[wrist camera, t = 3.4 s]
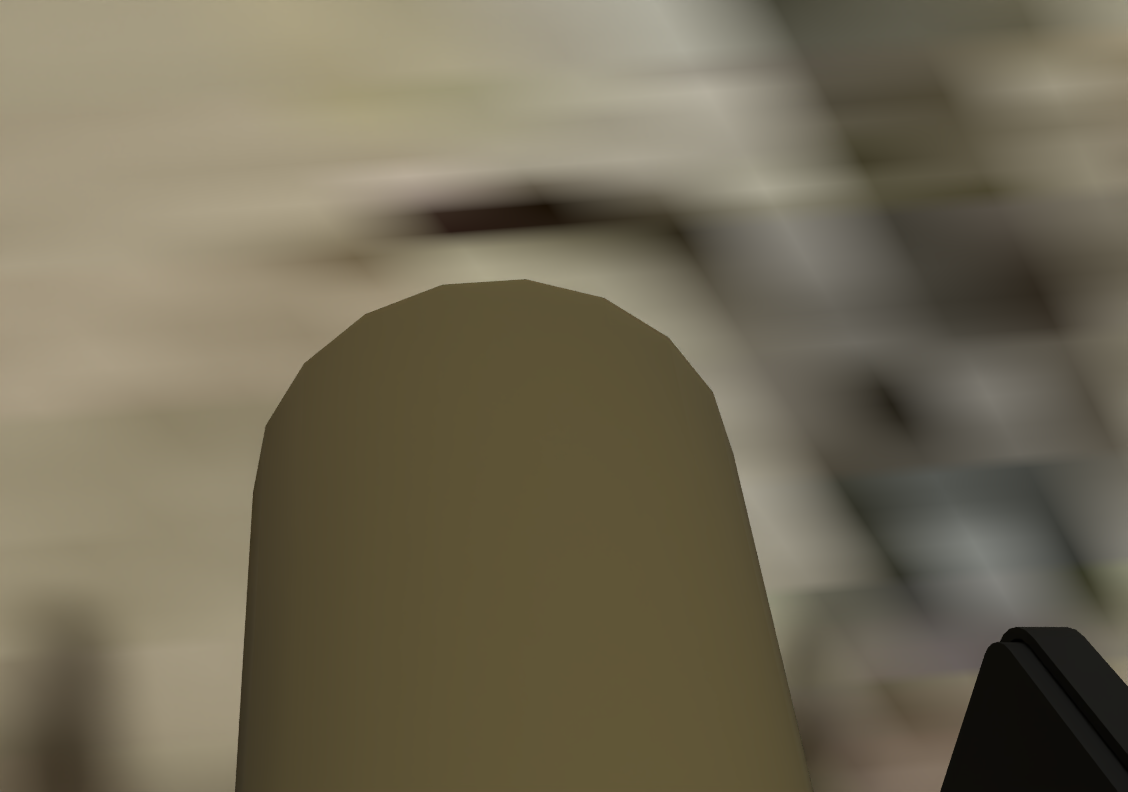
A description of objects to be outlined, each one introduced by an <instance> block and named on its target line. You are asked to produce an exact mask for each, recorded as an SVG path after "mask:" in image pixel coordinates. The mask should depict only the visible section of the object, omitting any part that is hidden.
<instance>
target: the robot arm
mask: <svg viewBox="0 0 1128 792" xmlns="http://www.w3.org/2000/svg"><path fill="white" fill-rule="evenodd" d="M940 792H1128V686H1127V685H1126V684H1125V683H1124V682H1123V680H1122V679H1121V678H1120V677H1119V676H1118V675H1117V674H1116V673H1115V671H1114V670H1113V669H1112V668H1111V667H1110V666H1109V665H1108V663H1107V662H1106V661H1105V660H1104V659H1103V658H1102V657H1101V655H1100V654H1099V653H1098V652H1097V651H1096V650H1095V649H1094V647H1093V646H1092V645H1091V644H1090V643H1089V642H1088V641H1087V639H1086V638H1085V637H1084V636H1083V635H1081V634H1080V633H1079V632H1078V631H1077V630H1075V629H1071V628H1068V627H1015V628H1011V629H1009V630H1008V631H1007V632H1006V633H1005V634H1004V635H1003V637H1002V639H1001V641H1000V642H996V643H992V644H991V645H990V646H989V647H988V649H987V651H986V653H985V655H984V658H983V662H982V665H981V668H980V671H979V674H978V677H977V680H976V683H975V686H974V689H973V692H972V695H971V698H970V702H969V705H968V708H967V711H966V714H965V717H964V720H963V723H962V726H961V729H960V732H959V735H958V738H957V742H956V745H955V748H954V751H953V754H952V757H951V760H950V763H949V766H948V769H947V772H946V775H945V779H944V782H943V785H942V788H941V791H940Z"/></svg>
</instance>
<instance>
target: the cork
mask: <svg viewBox="0 0 1128 792" xmlns="http://www.w3.org/2000/svg"><path fill="white" fill-rule="evenodd" d="M235 792H813V788H812V784H811V780H810V775H809V771H808V767H807V763H806V759H805V754H804V750H803V746H802V742H801V738H800V733H799V729H798V725H797V721H796V716H795V712H794V708H793V704H792V700H791V695H790V691H789V687H788V683H787V678H786V674H785V670H784V666H783V662H782V657H781V653H780V649H779V645H778V641H777V636H776V632H775V628H774V624H773V619H772V615H771V611H770V607H769V603H768V598H767V594H766V590H765V586H764V582H763V577H762V573H761V569H760V565H759V560H758V556H757V552H756V548H755V544H754V539H753V535H752V531H751V527H750V522H749V518H748V514H747V510H746V506H745V501H744V497H743V493H742V489H741V485H740V480H739V476H738V472H737V468H736V463H735V459H734V455H733V452H732V449H731V446H730V443H729V440H728V437H727V434H726V431H725V428H724V425H723V422H722V419H721V415H720V412H719V409H718V406H717V403H716V400H715V397H714V394H713V392H712V391H711V389H710V388H709V387H708V386H707V384H706V383H705V382H704V381H703V380H702V378H701V377H700V376H699V375H698V373H697V372H696V371H695V370H694V368H693V367H692V366H691V365H690V363H689V362H688V361H687V360H686V358H685V357H684V356H683V355H682V354H681V352H680V351H679V350H678V349H677V347H676V346H675V345H674V344H673V342H672V341H671V340H670V339H669V338H668V337H667V336H665V335H663V334H662V333H660V332H658V331H657V330H655V329H654V328H652V327H650V326H649V325H647V324H645V323H644V322H642V321H641V320H639V319H637V318H636V317H634V316H632V315H631V314H629V313H628V312H626V311H624V310H623V309H621V308H619V307H618V306H616V305H615V304H613V303H611V302H610V301H608V300H606V299H605V298H601V297H597V296H593V295H589V294H585V293H580V292H576V291H572V290H568V289H564V288H559V287H555V286H551V285H547V284H543V283H539V282H534V281H530V280H526V279H524V280H509V281H494V282H478V283H463V284H448V285H441V286H438V287H436V288H433V289H430V290H428V291H425V292H422V293H420V294H417V295H415V296H412V297H409V298H407V299H404V300H401V301H399V302H396V303H394V304H391V305H388V306H386V307H383V308H380V309H378V310H375V311H373V312H370V313H367V314H365V315H364V316H363V317H361V318H360V319H359V320H358V321H356V322H355V323H354V324H353V325H351V326H350V327H349V328H348V329H346V330H345V331H344V332H343V333H342V334H340V335H339V336H338V337H337V338H335V339H334V340H333V341H332V342H330V343H329V344H328V345H327V346H325V347H324V348H323V349H322V350H320V351H319V352H318V353H317V354H315V355H314V356H313V357H312V358H310V359H309V360H308V361H307V362H305V363H304V365H303V366H302V368H301V370H300V371H299V373H298V374H297V376H296V378H295V379H294V381H293V383H292V384H291V386H290V387H289V389H288V391H287V392H286V394H285V395H284V397H283V399H282V400H281V402H280V404H279V405H278V407H277V408H276V410H275V412H274V413H273V415H272V417H271V418H270V420H269V421H268V423H267V425H266V427H265V433H264V438H263V443H262V449H261V454H260V459H259V464H258V470H257V475H256V480H255V486H254V491H253V503H252V520H251V536H250V553H249V570H248V586H247V603H246V620H245V636H244V653H243V669H242V686H241V703H240V719H239V736H238V753H237V769H236V786H235Z"/></svg>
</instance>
